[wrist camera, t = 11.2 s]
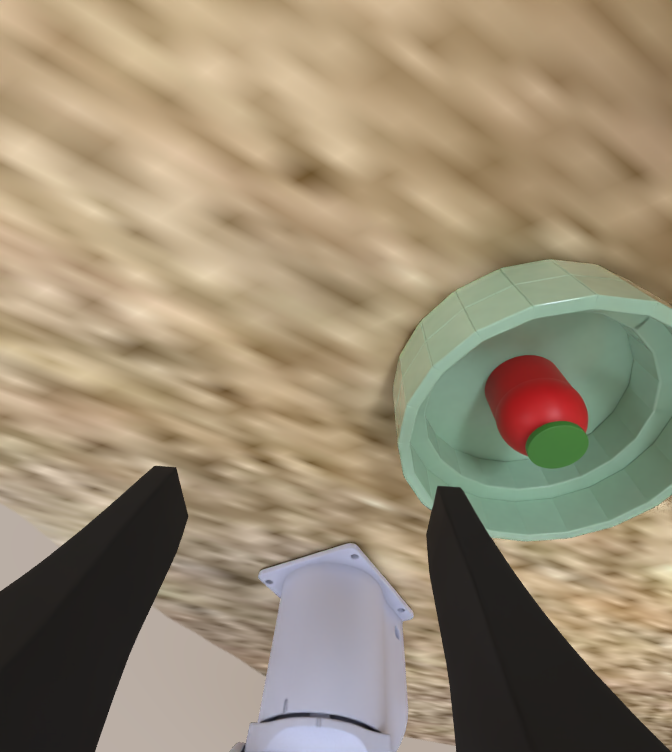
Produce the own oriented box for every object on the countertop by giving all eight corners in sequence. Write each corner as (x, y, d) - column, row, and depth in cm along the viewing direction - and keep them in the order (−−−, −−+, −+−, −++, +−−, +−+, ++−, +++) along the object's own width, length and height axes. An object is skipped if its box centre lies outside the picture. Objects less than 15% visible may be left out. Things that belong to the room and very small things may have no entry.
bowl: (676, 423, 20) (747, 492, 16) (448, 496, 24) (463, 566, 20) (628, 198, 15) (716, 223, 11) (349, 336, 19) (344, 389, 15)
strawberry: (569, 398, 19) (617, 463, 16) (497, 425, 20) (525, 491, 17) (549, 341, 18) (595, 397, 14) (472, 372, 19) (497, 432, 15)
